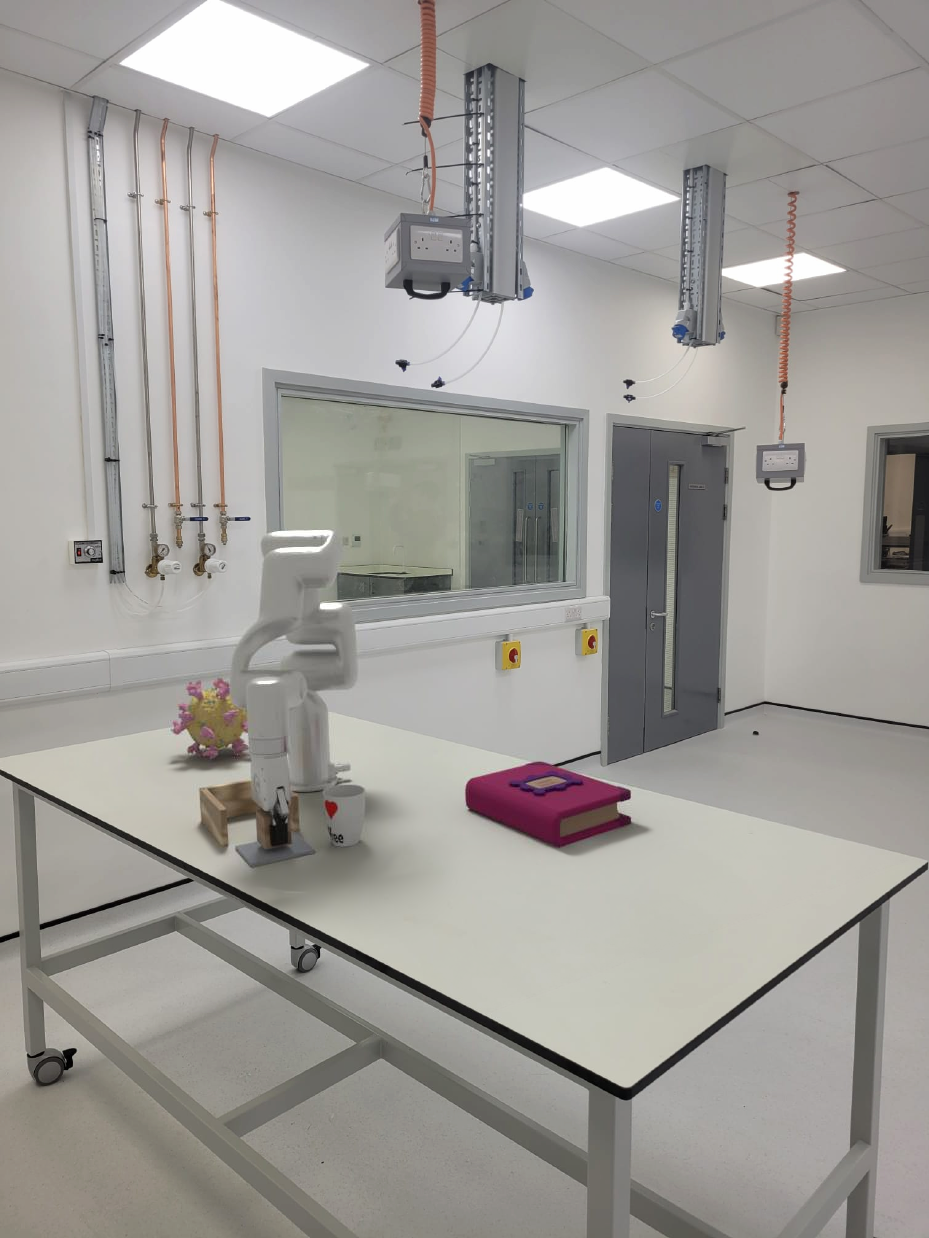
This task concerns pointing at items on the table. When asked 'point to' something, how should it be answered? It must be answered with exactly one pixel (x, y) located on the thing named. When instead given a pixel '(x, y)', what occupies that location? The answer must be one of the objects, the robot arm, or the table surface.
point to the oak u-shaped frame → (233, 807)
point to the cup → (344, 813)
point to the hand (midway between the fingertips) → (274, 838)
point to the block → (268, 828)
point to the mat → (274, 851)
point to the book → (548, 802)
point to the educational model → (212, 719)
